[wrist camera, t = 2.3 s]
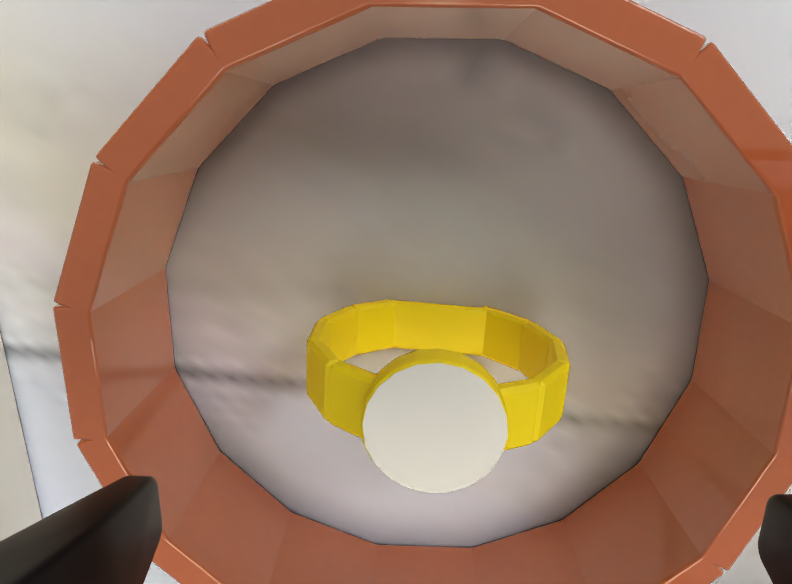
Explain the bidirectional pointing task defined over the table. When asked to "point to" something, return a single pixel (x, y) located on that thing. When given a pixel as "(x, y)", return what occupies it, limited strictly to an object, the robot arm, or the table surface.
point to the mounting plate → (14, 464)
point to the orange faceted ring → (514, 555)
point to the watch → (436, 387)
